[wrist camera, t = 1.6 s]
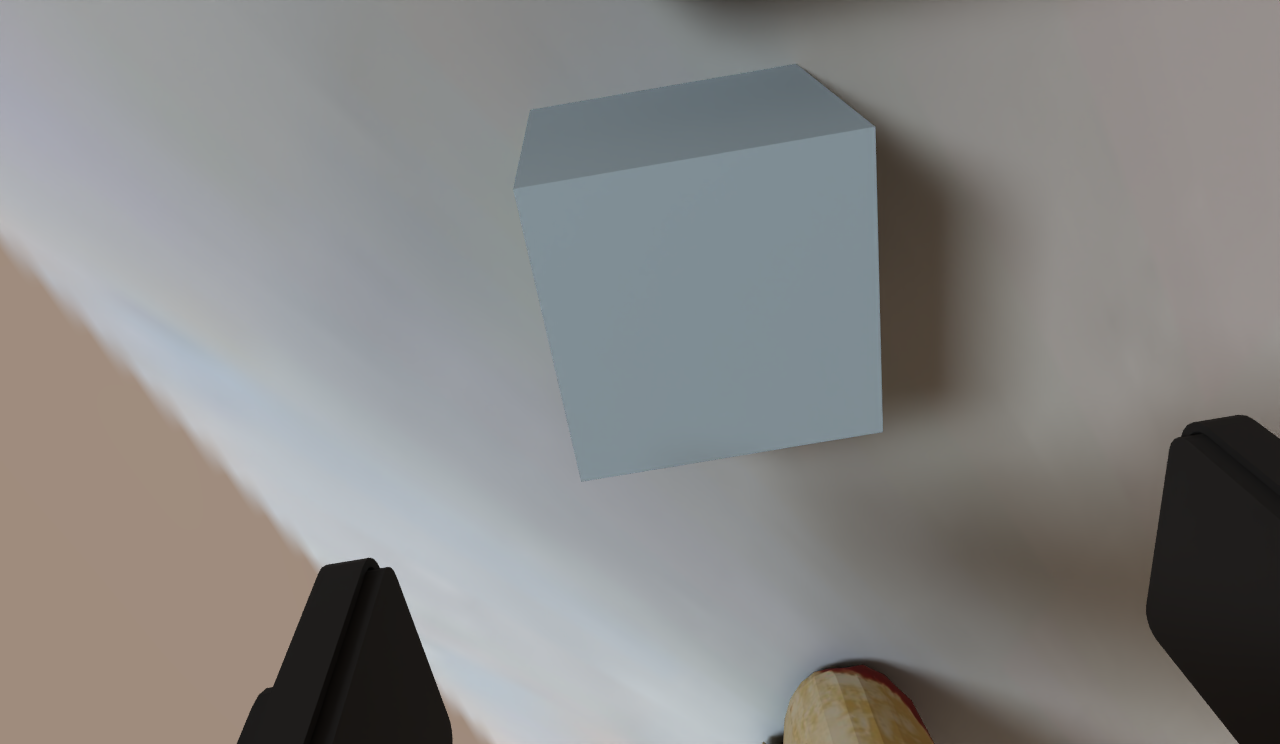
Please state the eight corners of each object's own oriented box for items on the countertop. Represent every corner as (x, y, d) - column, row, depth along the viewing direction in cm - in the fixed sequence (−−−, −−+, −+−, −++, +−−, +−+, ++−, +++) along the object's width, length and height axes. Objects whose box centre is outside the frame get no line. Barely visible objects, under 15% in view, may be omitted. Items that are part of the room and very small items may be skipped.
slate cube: (530, 109, 20) (513, 188, 14) (795, 62, 20) (875, 126, 14) (580, 343, 23) (581, 481, 17) (811, 305, 22) (882, 432, 17)
